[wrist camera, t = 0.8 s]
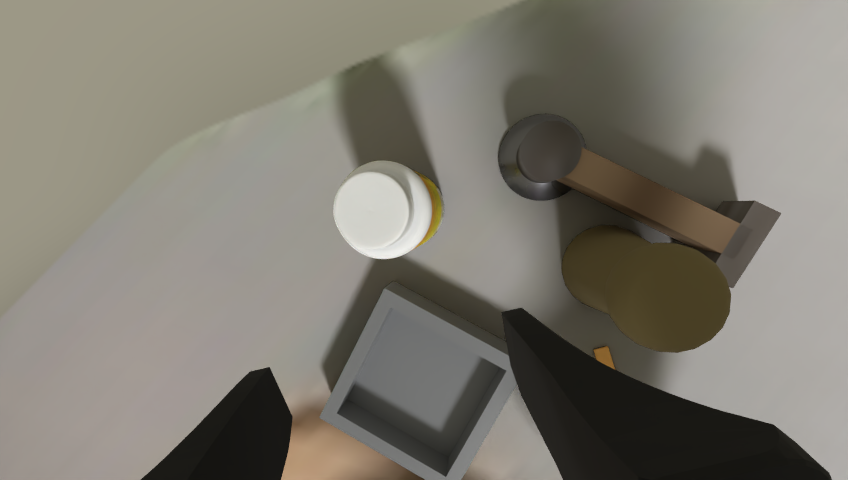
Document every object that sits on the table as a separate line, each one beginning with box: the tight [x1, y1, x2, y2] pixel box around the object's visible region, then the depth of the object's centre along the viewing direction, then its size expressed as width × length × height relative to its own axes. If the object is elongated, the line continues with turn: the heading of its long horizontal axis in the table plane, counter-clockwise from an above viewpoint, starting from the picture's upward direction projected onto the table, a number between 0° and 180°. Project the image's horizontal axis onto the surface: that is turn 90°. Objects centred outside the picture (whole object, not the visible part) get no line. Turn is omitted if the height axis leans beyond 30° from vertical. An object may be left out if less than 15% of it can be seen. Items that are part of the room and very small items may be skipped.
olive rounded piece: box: [562, 225, 731, 353], centre depth 23 cm, size 6×6×11 cm
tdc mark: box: [593, 346, 615, 369], centre depth 29 cm, size 3×1×1 cm, turn 18°
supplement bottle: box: [333, 160, 444, 259], centre depth 25 cm, size 6×6×10 cm
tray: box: [319, 281, 517, 480], centre depth 30 cm, size 11×11×3 cm
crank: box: [516, 121, 781, 288], centre depth 26 cm, size 15×5×3 cm, turn 63°
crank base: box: [499, 114, 586, 200], centre depth 28 cm, size 6×6×1 cm
